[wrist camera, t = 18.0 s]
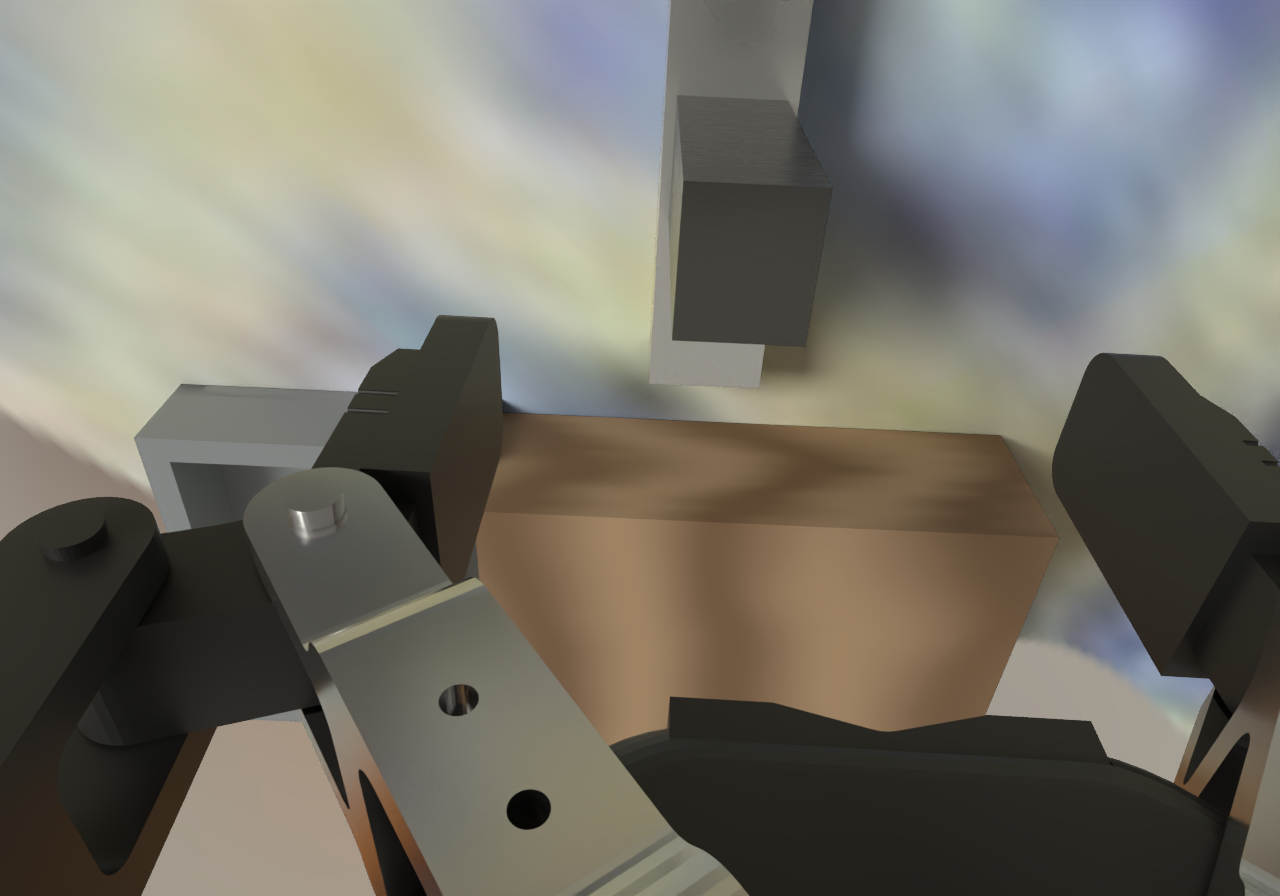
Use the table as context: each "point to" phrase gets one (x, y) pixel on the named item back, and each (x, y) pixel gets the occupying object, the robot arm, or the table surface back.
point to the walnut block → (763, 565)
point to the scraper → (734, 193)
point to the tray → (235, 452)
